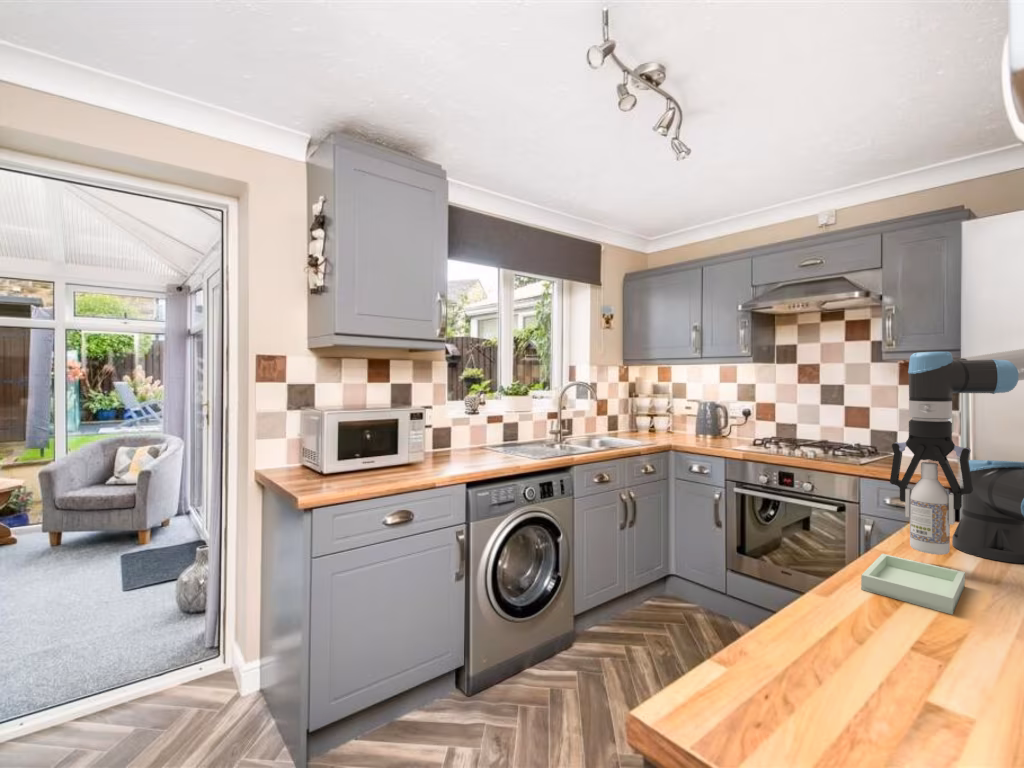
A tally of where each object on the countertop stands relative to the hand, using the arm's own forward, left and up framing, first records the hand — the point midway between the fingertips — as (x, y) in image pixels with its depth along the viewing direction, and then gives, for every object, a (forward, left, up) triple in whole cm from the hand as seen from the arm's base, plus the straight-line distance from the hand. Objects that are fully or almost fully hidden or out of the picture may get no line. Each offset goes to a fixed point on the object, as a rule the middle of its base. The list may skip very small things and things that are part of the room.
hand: (929, 519), depth 112 cm
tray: (+14, +9, -11) cm, 20 cm away
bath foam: (0, 0, -7) cm, 7 cm away
